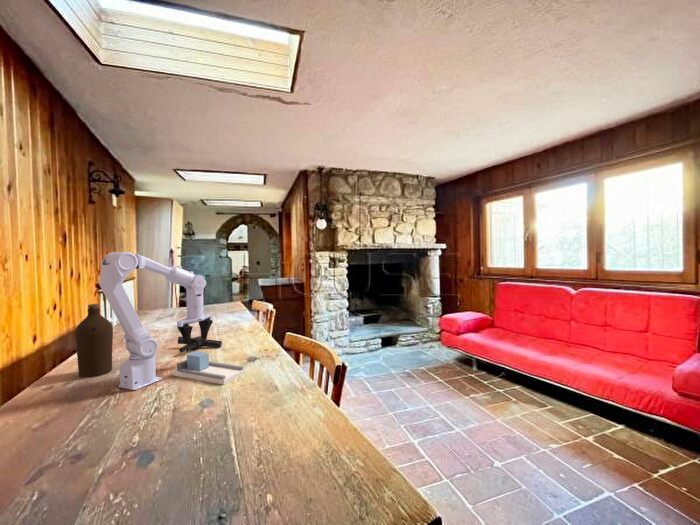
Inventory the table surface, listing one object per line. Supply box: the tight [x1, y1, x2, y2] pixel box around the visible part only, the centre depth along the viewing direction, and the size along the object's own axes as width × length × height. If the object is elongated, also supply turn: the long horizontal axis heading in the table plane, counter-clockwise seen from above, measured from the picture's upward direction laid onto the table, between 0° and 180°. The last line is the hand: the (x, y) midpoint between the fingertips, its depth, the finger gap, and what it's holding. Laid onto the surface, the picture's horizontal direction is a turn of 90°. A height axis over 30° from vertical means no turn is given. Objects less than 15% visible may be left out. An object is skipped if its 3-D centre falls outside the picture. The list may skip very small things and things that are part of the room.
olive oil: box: [74, 303, 114, 378], centre depth 113 cm, size 11×11×25 cm
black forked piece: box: [177, 335, 223, 353], centre depth 138 cm, size 5×20×15 cm
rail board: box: [172, 359, 246, 385], centre depth 110 cm, size 10×23×4 cm, turn 69°
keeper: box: [186, 351, 210, 371], centre depth 112 cm, size 4×6×5 cm, turn 69°
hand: (196, 341), depth 119 cm, fingers open, 7 cm apart
